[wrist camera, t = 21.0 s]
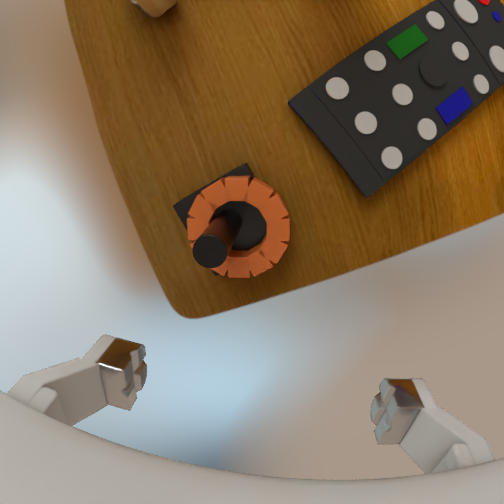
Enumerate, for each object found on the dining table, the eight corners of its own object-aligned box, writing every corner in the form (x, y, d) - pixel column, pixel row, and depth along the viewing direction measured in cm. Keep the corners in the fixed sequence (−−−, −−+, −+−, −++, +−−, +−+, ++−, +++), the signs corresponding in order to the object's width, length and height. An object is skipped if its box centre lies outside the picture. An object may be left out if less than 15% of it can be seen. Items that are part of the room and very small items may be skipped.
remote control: (528, 56, 21) (538, 53, 19) (363, 195, 29) (368, 199, 27) (474, -20, 19) (481, -26, 17) (287, 103, 27) (288, 100, 25)
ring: (306, 242, 30) (308, 249, 28) (225, 284, 32) (221, 293, 30) (257, 157, 28) (255, 157, 26) (175, 207, 30) (168, 211, 28)
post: (287, 235, 31) (290, 275, 22) (217, 271, 33) (193, 321, 23) (246, 162, 29) (230, 169, 20) (176, 203, 31) (133, 229, 22)
